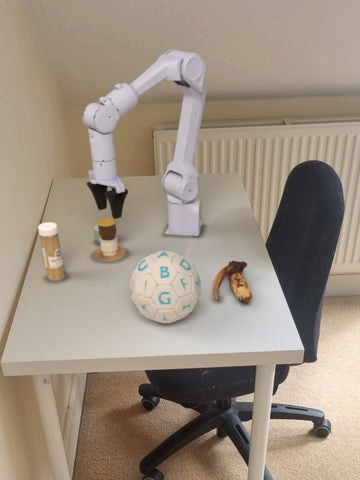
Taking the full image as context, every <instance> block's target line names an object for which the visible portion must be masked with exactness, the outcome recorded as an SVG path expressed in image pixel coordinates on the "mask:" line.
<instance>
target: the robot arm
mask: <svg viewBox="0 0 360 480" xmlns="http://www.w3.org/2000/svg"><path fill="white" fill-rule="evenodd" d="M206 72H207V64H206V63H205V61H204V60H203V57H201V55H200V54H198V53H197V52H188V51H184V50H179V49H177V48H170V49H168V50H167V51H166V52H165V53H162V54H160V55H159V57H158V58H157V60H156V61H155V62H154V63H152V64H151V66H150V67H148V68H147V69H146V70H144V72H142V74H140V75H139V76H138V77H136V79H135V80H133V81H132V82H131V83H129V84H128V83H127V82H122V83H116V84H115V85H114V86H113V87H114V89H113V90H111V91H110V92H109V93H107V94H106V95H104V96H101V97H99V98H98V102H92V103H89V104H88V105H87V106H86V107H85V110H84V111H83V116H82V117H81V119H82V123H83V124H84V126H85V127H86V128H87V131H88V138H89V145H90V154H91V161H92V169H89V170H88V177H89V179H90V181H88V182H86V186H87V187H88V189H89V191H90V192H91V194H92V196H93V199H94V201H95V204H96V207H97V209H98V211H103V210H106V209H107V207H108V204H109V206H110V208H109V209H110V211H111V216H112V219H115V220H117V219H120V218H122V216H123V209H124V205H125V200H126V198H127V196H128V194H129V190H128V189H127V188H125V187H126V185H125V183H124V182H122V180H121V179H120V177H119V175H118V168H117V160H116V159H117V157H116V148H115V138H114V131H115V129H116V127H117V123H118V122H119V121H120V120H121V119H122V118H123V117H124V116H127V115H128V113H130V112H131V111H132V110H133V109H135V108H136V107H137V106H138V104H139V98H141V97H142V96H143V95H145V94H147V93H148V92H149V91H151V90H152V89H154V88H156V87H157V86H158V85H160V84H161V83H163V82H165V81H172V82H173V83H175V84H176V86H177V88H179V91H181V93H182V95H183V97H182V104H181V110H180V118H179V123H178V129H177V136H176V141H175V148H174V154H173V160H172V161H171V162H170V163H168V164H167V166H166V170H165V173H164V175H163V176H162V178H161V188H162V191H163V192H165V194H166V198H167V221H168V222H167V223H168V225H167V229H166V230H165V235H183V236H185V235H187V236H192V237H199V236H200V233H201V231H202V229H203V202H202V200H201V199H198V198H197V196H198V194H199V191H200V185H199V176H200V175H199V172H198V170H197V168H196V166H195V160H196V159H195V158H196V154H197V148H198V142H199V137H200V131H201V125H202V120H203V113H204V108H205V104H206V98H207V90H208V89H207V82H206ZM108 188H111V189H109V190H108Z"/></svg>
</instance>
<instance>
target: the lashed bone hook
mask: <svg viewBox="0 0 360 480" xmlns="http://www.w3.org/2000/svg"><path fill="white" fill-rule="evenodd" d="M247 267H248V263H247V262H246V261H236V260H232V261H228V264H227V265H225V266H224V267H223V268H222V269H221V270H219V271H218V272H217V274H216V276H215V278H214V280H213V284H212V293H213V296H214V298H215V300H216V302H219V297H220V296H219V293H220V292H219V291H220V286H221V284H222V282H223V280H224V279H225V277H227V278H228V281H229V284H230V287H231V291H232V292H233V293H234V294H235V297H236V298H237V299H238V301H239V302H240V303H241V304H245V305H246V304H248V303H250V301H251V299H252V298H253V294H252V290H251V288H250V285H249V283H248V280H247V279H246V277H245V276H244V273H243V272H244V270H245V268H247Z"/></svg>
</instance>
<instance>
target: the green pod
mask: <svg viewBox="0 0 360 480" xmlns="http://www.w3.org/2000/svg"><path fill="white" fill-rule="evenodd" d="M93 232H94V238H95V241H96V242H97V243H99V244H100V240H99V237H100V236H101V235H99V229H98V224H95V225H94V226H93Z"/></svg>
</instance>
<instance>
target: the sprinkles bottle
mask: <svg viewBox="0 0 360 480" xmlns="http://www.w3.org/2000/svg"><path fill="white" fill-rule="evenodd" d="M37 231H38V235H39V237H40V243H41V250H42V255H43V261H44V267H45V271H46V275H47V279H48V280H53V281H54V280H56V281H57V280H61V279H63V278H65V277H66V273H65V267H64V259H63V253H62V250H61V242H60V238H59V228H58V224H57V223H56V222H51V221H48V222H42V223H40V224H38V226H37Z"/></svg>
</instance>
